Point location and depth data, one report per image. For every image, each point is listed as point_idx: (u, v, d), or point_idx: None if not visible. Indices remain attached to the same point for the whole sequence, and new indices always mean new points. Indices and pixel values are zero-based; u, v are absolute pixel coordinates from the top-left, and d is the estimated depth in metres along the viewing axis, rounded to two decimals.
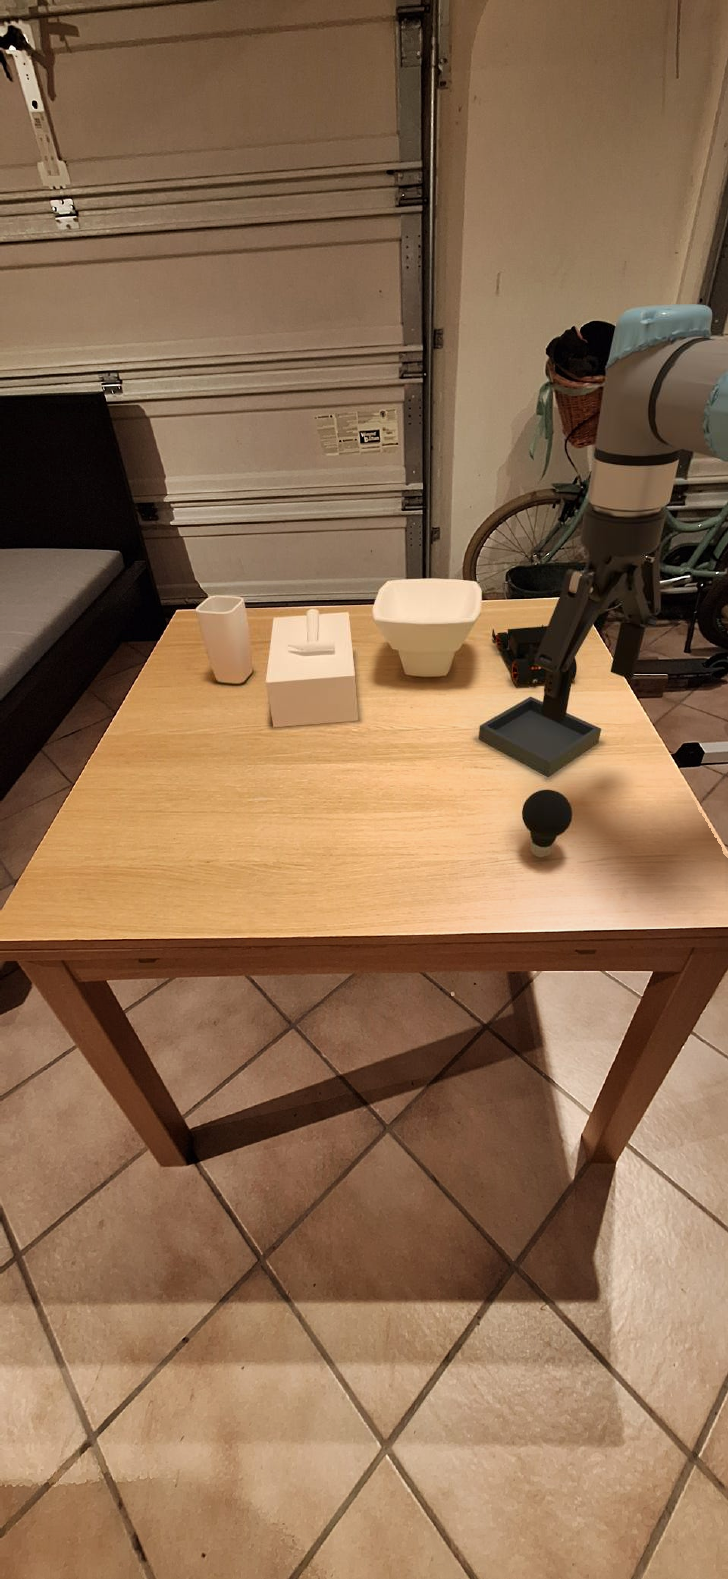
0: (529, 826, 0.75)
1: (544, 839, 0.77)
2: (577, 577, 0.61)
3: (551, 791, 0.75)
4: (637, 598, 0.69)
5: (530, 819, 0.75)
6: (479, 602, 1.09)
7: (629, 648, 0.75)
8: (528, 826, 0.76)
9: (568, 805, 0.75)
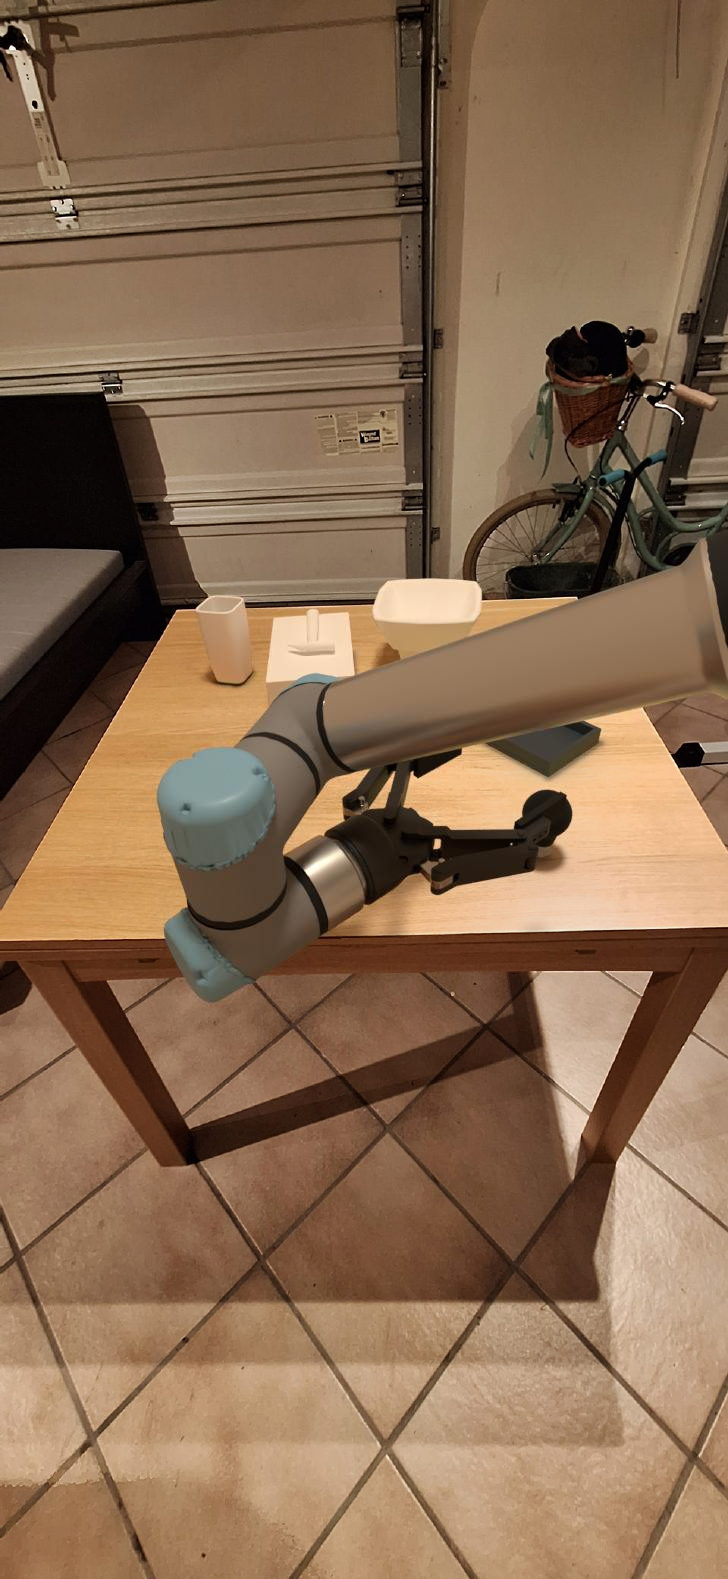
0: None
1: (544, 839, 0.77)
2: (439, 883, 0.53)
3: (551, 791, 0.75)
4: (401, 788, 0.62)
5: None
6: (479, 602, 1.09)
7: (437, 755, 0.67)
8: None
9: (568, 805, 0.75)
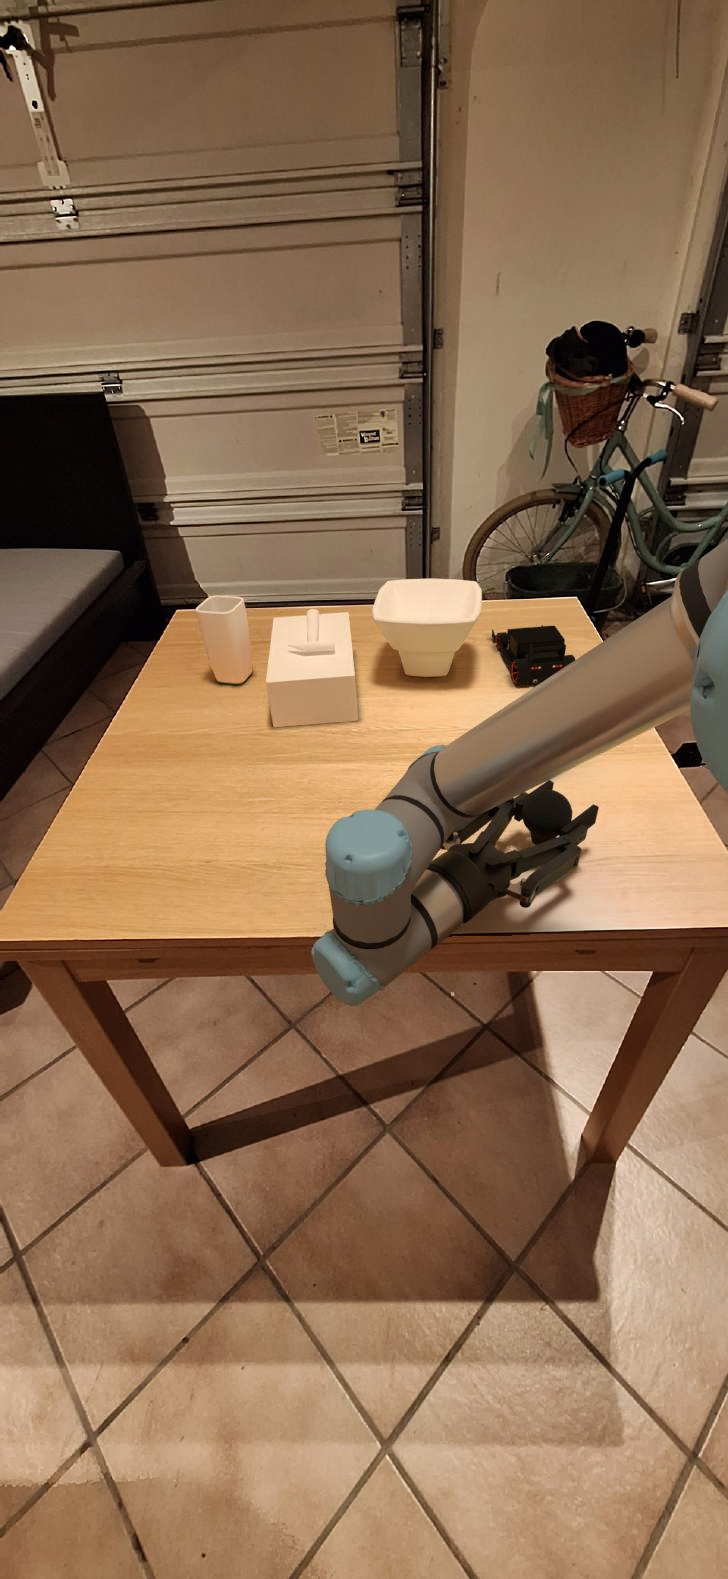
0: (529, 826, 0.75)
1: (544, 839, 0.77)
2: (530, 898, 0.67)
3: (551, 791, 0.75)
4: (494, 830, 0.74)
5: (530, 818, 0.75)
6: (479, 602, 1.09)
7: None
8: (528, 826, 0.76)
9: (568, 805, 0.75)
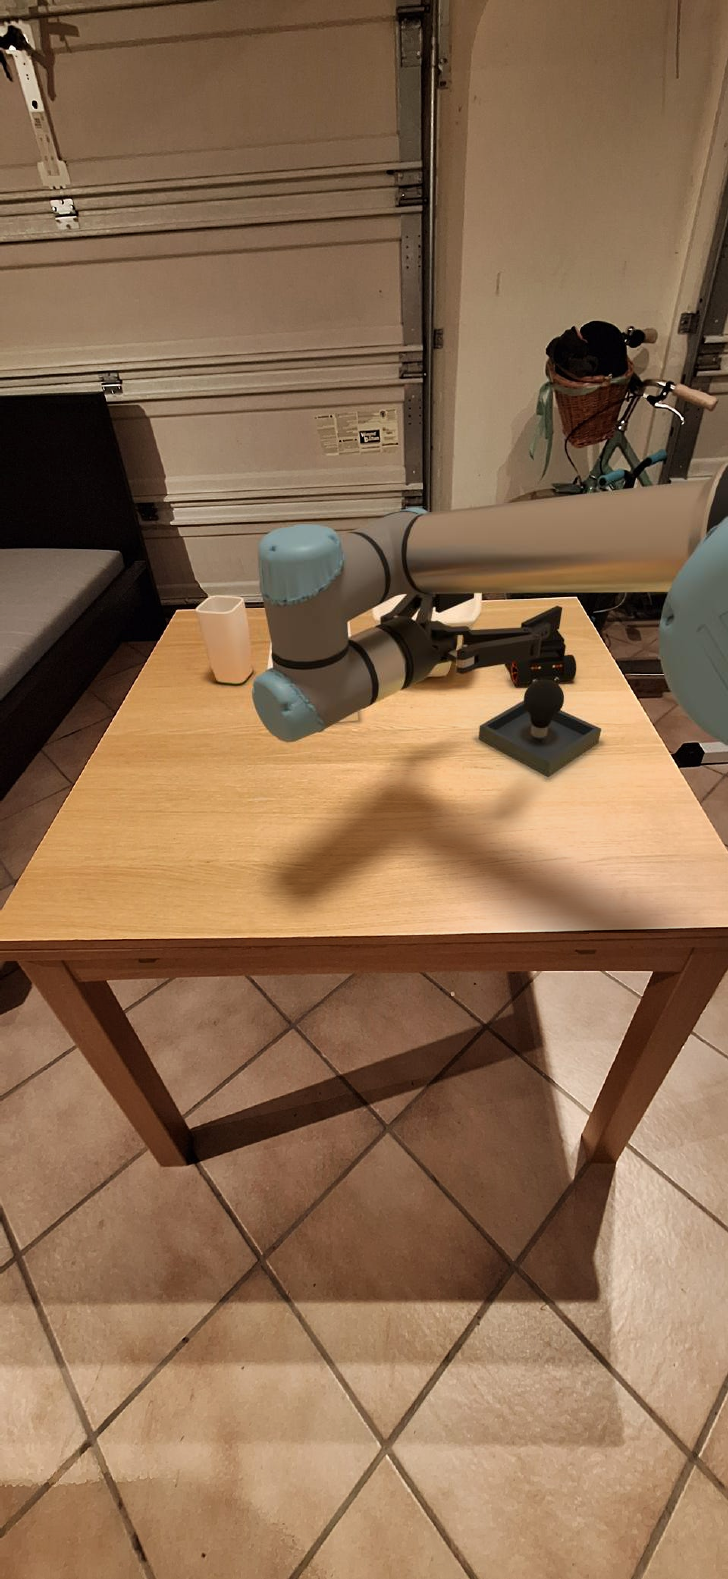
0: (529, 707, 0.94)
1: (541, 719, 0.95)
2: (464, 662, 0.67)
3: None
4: (427, 609, 0.76)
5: (530, 701, 0.94)
6: (479, 602, 1.09)
7: (454, 593, 0.81)
8: (528, 708, 0.95)
9: (561, 690, 0.94)
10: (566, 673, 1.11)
